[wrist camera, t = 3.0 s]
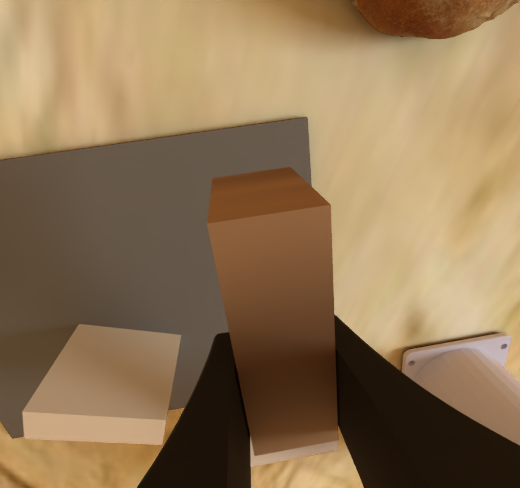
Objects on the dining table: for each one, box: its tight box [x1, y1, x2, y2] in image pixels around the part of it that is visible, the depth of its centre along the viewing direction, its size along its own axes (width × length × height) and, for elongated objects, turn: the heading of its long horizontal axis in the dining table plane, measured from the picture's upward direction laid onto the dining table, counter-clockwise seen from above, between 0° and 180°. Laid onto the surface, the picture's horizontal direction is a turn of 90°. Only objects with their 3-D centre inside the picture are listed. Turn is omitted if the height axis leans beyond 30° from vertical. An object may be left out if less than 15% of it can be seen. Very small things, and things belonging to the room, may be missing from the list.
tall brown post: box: [207, 167, 338, 467], centre depth 11 cm, size 13×4×4 cm, turn 8°
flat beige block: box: [22, 324, 181, 445], centre depth 17 cm, size 2×6×6 cm, turn 78°
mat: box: [0, 117, 312, 439], centre depth 19 cm, size 18×22×1 cm
